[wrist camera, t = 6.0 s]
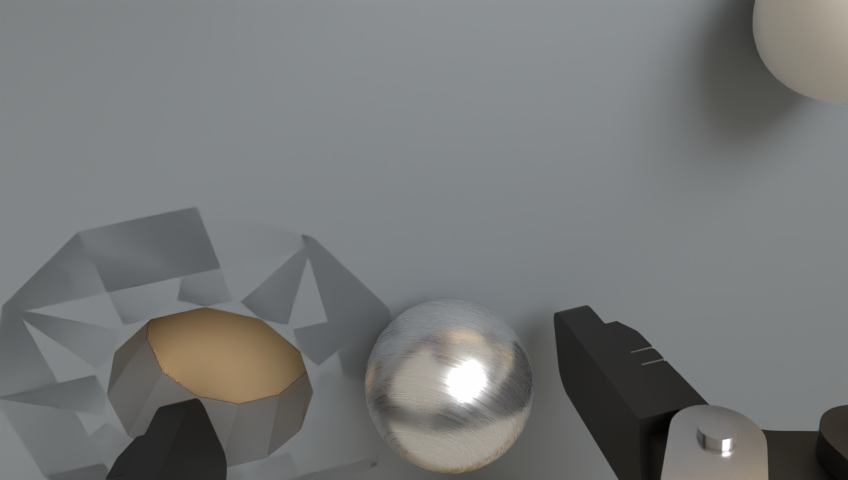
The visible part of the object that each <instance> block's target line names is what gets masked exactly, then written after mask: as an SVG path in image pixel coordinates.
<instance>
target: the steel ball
mask: <svg viewBox="0 0 848 480" xmlns="http://www.w3.org/2000/svg"><path fill="white" fill-rule="evenodd" d="M533 393H534V380H533V373H532V367H531V363H530V360H529V357H528V354H527V352H526V349H525V347H524V345H523V344H522V342H521V340H520V338H519V337H518V335H517V334H516V333H515V332H514V330H513V329H512V328H511V327H510V325H509V324H508V323H507V322H506V321H504V320H503V319H502V318H501V317H499V316H498V315H497V314H496V313H494V312H493V311H491V310H489V309H487V308H486V307H483V306H481V305H479V304H476V303H473V302H470V301H466V300H461V299H436V300H431V301H427V302H424V303H421V304H418V305H416V306H414V307H412V308H410V309H408V310H406V311H404V312H403V313H402V314H400V315H399V316H398V317H396V318H395V319H394V320H393V321H392V322H391V323H390V324H389V325H388V326H387V327H386V328H385V329H384V331H383V332H382V333H381V335H380V336H379V338H378V339H377V341H376V343H375V345H374V347H373V349H372V351H371V354H370V357H369V360H368V364H367V369H366V375H365V394H366V402H367V406H368V410H369V413H370V416H371V418H372V421H373V424H374V426H375V427H376V429H377V431H378V433H379V434H380V436H381V437H382V439H383V440H384V441H385V442H386V444H387V445H388V446H389V447H390V448H391V449H392V450H393V451H394V452H395V453H396V454H397V455H399V456H400V457H401V458H403V459H404V460H406V461H407V462H409V463H411V464H413V465H415V466H417V467H419V468H422V469H425V470H428V471H432V472H437V473H444V474H455V473H464V472H469V471H473V470H476V469H479V468H481V467H484V466H486V465H488V464H490V463H491V462H493V461H495V460H496V459H498V458H499V457H500V456H502V455H503V454H504V453H505V452H506V451H507V450H508V449H509V448H510V447H511V446H512V445H513V444H514V442H515V441H516V440H517V439H518V437H519V436H520V434H521V433H522V431H523V429H524V427H525V425H526V422H527V420H528V418H529V415H530V411H531V408H532V401H533Z"/></svg>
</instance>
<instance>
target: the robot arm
mask: <svg viewBox="0 0 848 480" xmlns="http://www.w3.org/2000/svg"><path fill="white" fill-rule="evenodd" d="M554 330H555V339H556V349H557V358H558V368H559V373H560V377H561V381H562V384H563V387H564V389H565V392H566V394H567V396H568V397H569V399H570V401H571V402H572V404H573V406H574V407H575V409H576V411H577V412H578V414H579V416H580V417H581V419H582V421H583V422H584V424H585V425H586V427H587V429H588V430H589V432H590V434H591V435H592V437H593V439H594V440H595V442H596V444H597V445H598V447H599V448H600V450H601V452H602V453H603V455H604V457H605V458H606V460H607V462H608V463H609V465H610V467H611V468H612V470H613V472H614V473H615V475H616V476H617V478H618V480H848V405H842V406H837V407H834V408H831V409H829V410H827V411H826V412H825V413H824V414H823V415H822V417H821V419H820V423H819V430H818V431H775V430H763V429H760V428H759V427H758V426H757V425H756V424H755V423H754V422H753V421H752V420H750V419H749V418H748V417H746V416H744V415H743V414H741V413H739V412H736V411H734V410H731V409H728V408H725V407H721V406H715V405H709V404H708V403H707V402H706V401H705V400H704V399H703V397H702V396H701V395H700V394H699V393H698V392H697V391H696V390H695V389H694V388H693V387H692V386H691V385H690V384H689V383H688V382H687V381H686V380H685V379H684V378H683V377H682V376H681V375H680V374H679V373H678V372H677V371H676V370H675V369H674V368H673V367H672V366H671V365H670V364H669V363H668V362H667V361H664V358H663V356H662V355H661V354H660V353H659V352H658V351H657V350H656V349H655V348H654V349H653V348H652V345H651V344H650V343H649V342H648V341H647V340H646V339H645V338H644V337H643V336H642V335H641V334H640V333H639V332H638V331H637V330H634V329H632V328H630V327H628V326H626V325H624V324H622V323H620V322H618V321H614V322H610V323H606V324H605V323H604V322H603V321H602V320H601V318H600V317H599V316H598V315H597V314H596V313H595V312H594V311H593V309H592V308H591V307H590V306H588V305H585V306H580V307H576V308H572V309H568V310H564V311H560V312H556V313H555V314H554ZM226 477H227V463H226V457H225V453H224V450H223V447H222V445H221V443H220V441H219V438H218V436H217V434H216V432H215V430H214V427H213V425H212V423H211V421H210V418H209V416H208V414H207V412H206V409H205V407H204V405H203V403H202V402H201V401H200V400H199V399H197V398H194V399H190V400H185V401H181V402H177V403H173V404H169V405H165V406H161V407H159V408H158V409H157V411H156V413H155V415H154V417H153V419H152V421H151V423H150V425H149V427H148V429H147V431H146V432H145V434H144V435H141V436H137V437H136V438H135V439H134V440H133V441H132V442H131V443H130V444H129V445H128V447H127V448H126V449H125V450H124V451H123V452H122V453H121V454H120V455H119V456H118V457H117V459H116V461H115V462H114V464H113V466H112V468H111V470H110V472H109V473H108V475H107V477H106V480H226Z"/></svg>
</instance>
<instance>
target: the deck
mask: <svg viewBox="0 0 848 480" xmlns="http://www.w3.org/2000/svg"><path fill="white" fill-rule="evenodd" d="M754 4H755V0H0V480H106V477H107V475H108V473H109V472H110V470H111V468H112V466H113V464H114V462H115V461H116V459H117V457H118V456H119V455H120V454H121V453H122V452H123V451H124V450H125V449H126V448H127V447H128V445H129V444H130V443H131V442H132V441H133V440H134V439H135V438H136V437H137V436H141V435H144V434H145V432H146V431H147V429H148V427H149V425H150V423H151V421H152V419H153V417H154V415H155V413H156V411H157V409H158V408H159V407H161V406H165V405H169V404H173V403H177V402H181V401H185V400H190V399H194V398H197V399H199V400H200V401H201V402H202V403H203V405H204V407H205V409H206V412H207V414H208V416H209V418H210V421H211V423H212V425H213V427H214V430H215V432H216V434H217V436H218V438H219V441H220V443H221V445H222V447H223V450H224V453H225V457H226V463H227V477H226V480H618V478H617V476H616V475H615V473H614V472H613V470H612V468H611V467H610V465H609V463H608V462H607V460H606V458H605V457H604V455H603V453H602V452H601V450H600V448H599V447H598V445H597V444H596V442H595V440H594V439H593V437H592V435H591V434H590V432H589V430H588V429H587V427H586V425H585V424H584V422H583V421H582V419H581V417H580V416H579V414H578V412H577V411H576V409H575V407H574V406H573V404H572V402H571V401H570V399H569V397H568V396H567V394H566V392H565V389H564V387H563V384H562V381H561V377H560V373H559V368H558V358H557V349H556V339H555V330H554V314H555V313H556V312H560V311H564V310H568V309H572V308H576V307H580V306H585V305H588V306H590V307H591V308H592V309H593V311H594V312H595V313H596V314H597V315H598V316H599V317H600V318H601V320H602V321H603V322H604V323H605V324H606V323H610V322H614V321H618V322H620V323H622V324H624V325H626V326H628V327H630V328H632V329H634V330H637V331H638V332H639V333H640V334H641V335H642V336H643V337H644V338H645V339H646V340H647V341H648V342H649V343H650V344H651V345H652V348H653V349H654V348H655V349H656V350H657V351H658V352H659V353H660V354H661V355H662V356H663V358H664V361H667V362H668V363H669V364H670V365H671V366H672V367H673V368H674V369H675V370H676V371H677V372H678V373H679V374H680V375H681V376H682V377H683V378H684V379H685V380H686V381H687V382H688V383H689V384H690V385H691V386H692V387H693V388H694V389H695V390H696V391H697V392H698V393H699V394H700V395H701V396H702V397H703V399H704V400H705V401H706V402H707V403H708V404H709V405H715V406H721V407H725V408H728V409H731V410H734V411H736V412H739V413H741V414H743V415H744V416H746V417H748V418H749V419H750V420H752V421H753V422H754V423H755V424H756V425H757V426H758V427H759V428H760V429H763V430H775V431H818V430H819V423H820V419H821V417H822V415H823V414H824V413H825V412H826V411H827V410H829V409H831V408H834V407H837V406H842V405H848V104H842V103H831V102H825V101H820V100H816V99H813V98H810V97H807V96H804V95H802V94H799V93H797V92H795V91H793V90H792V89H790V88H788V87H787V86H785V85H784V84H783V83H781V82H780V81H779V80H778V79H776V78H775V77H774V76H773V74H772V73H771V72H770V71H769V70H768V68H767V67H766V66H765V64H764V63H763V61H762V59H761V58H760V55H759V53H758V50H757V47H756V44H755V40H754V35H753V9H754ZM436 299H461V300H466V301H470V302H473V303H476V304H479V305H481V306H483V307H486V308H487V309H489V310H491V311H493V312H494V313H496V314H497V315H498V316H499V317H501V318H502V319H503V320H504V321H506V322H507V323H508V324H509V325H510V327H511V328H512V329H513V330H514V332H515V333H516V334H517V335H518V337H519V338H520V340H521V342H522V344H523V345H524V347H525V349H526V352H527V354H528V357H529V360H530V363H531V367H532V373H533V380H534V393H533V401H532V408H531V411H530V415H529V418H528V420H527V422H526V425H525V427H524V429H523V431H522V433H521V434H520V436H519V437H518V439H517V440H516V441H515V442H514V444H513V445H512V446H511V447H510V448H509V449H508V450H507V451H506V452H505V453H504V454H503V455H502V456H500V457H499V458H498V459H496V460H495V461H493V462H491V463H490V464H488V465H486V466H484V467H481V468H479V469H476V470H473V471H469V472H464V473H455V474H444V473H437V472H432V471H428V470H425V469H422V468H419V467H417V466H415V465H413V464H411V463H409V462H407V461H406V460H404V459H403V458H401V457H400V456H399V455H397V454H396V453H395V452H394V451H393V450H392V449H391V448H390V447H389V446H388V445H387V444H386V442H385V441H384V440H383V439H382V437H381V436H380V434H379V433H378V431H377V429H376V427H375V426H374V424H373V421H372V418H371V416H370V413H369V410H368V406H367V402H366V394H365V375H366V369H367V364H368V360H369V357H370V354H371V351H372V349H373V347H374V345H375V343H376V341H377V339H378V338H379V336H380V335H381V333H382V332H383V331H384V329H385V328H386V327H387V326H388V325H389V324H390V323H391V322H392V321H393V320H394V319H395V318H396V317H398V316H399V315H400V314H402V313H403V312H404V311H406V310H408V309H410V308H412V307H414V306H416V305H418V304H421V303H424V302H427V301H431V300H436ZM203 307H209V308H213V309H218V310H222V311H227V312H231V313H235V314H240V315H244V316H249V317H253V318H258V319H261V320H263V321H264V322H265V323H266V324H267V325H269V326H270V327H271V328H272V329H274V330H275V331H276V332H277V333H278V334H280V335H281V336H282V337H283V338H285V339H286V340H287V341H288V342H289V343H291V344H292V345H293V346H294V347H296V348H297V349H298V350H299V351H300V353H301V356H302V359H303V362H304V365H305V368H306V371H307V372H306V373H304V374H303V375H302V376H301V377H300V378H299V379H297V380H296V381H295V382H294V383H293V384H291V385H290V386H289V387H288V388H287V389H285V390H284V391H283V392H282V393H281V394H279V395H276V396H272V397H267V398H263V399H259V400H254V401H250V402H246V403H242V404H235V403H230V402H225V401H219V400H214V399H208V398H203V397H198V396H196V395H194V394H193V393H191V392H190V391H189V390H187V389H186V388H184V387H183V386H181V385H180V384H179V383H177V382H176V381H174V380H173V379H171V378H170V377H169V376H167V375H166V374H164V373H163V372H162V370H161V368H160V366H159V363H158V361H157V359H156V357H155V355H154V353H153V351H152V348H151V346H150V344H149V342H148V340H147V338H146V335H147V330H148V325H149V320H150V319H154V318H158V317H162V316H167V315H171V314H176V313H180V312H185V311H189V310H194V309H198V308H203Z"/></svg>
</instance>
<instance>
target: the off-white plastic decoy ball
mask: <svg viewBox="0 0 848 480" xmlns="http://www.w3.org/2000/svg"><path fill="white" fill-rule="evenodd" d="M753 35H754V40H755V44H756V47H757V50H758V53H759V55H760V58H761V59H762V61H763V63H764V64H765V66H766V67H767V68H768V70H769V71H770V72H771V73H772V74H773V76H774V77H775V78H776V79H778V80H779V81H780V82H781V83H783V84H784V85H785V86H787V87H788V88H790V89H792V90H793V91H795V92H797V93H799V94H802V95H804V96H807V97H810V98H813V99H816V100H820V101H825V102H831V103H842V104H848V0H755V4H754V9H753Z"/></svg>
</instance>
